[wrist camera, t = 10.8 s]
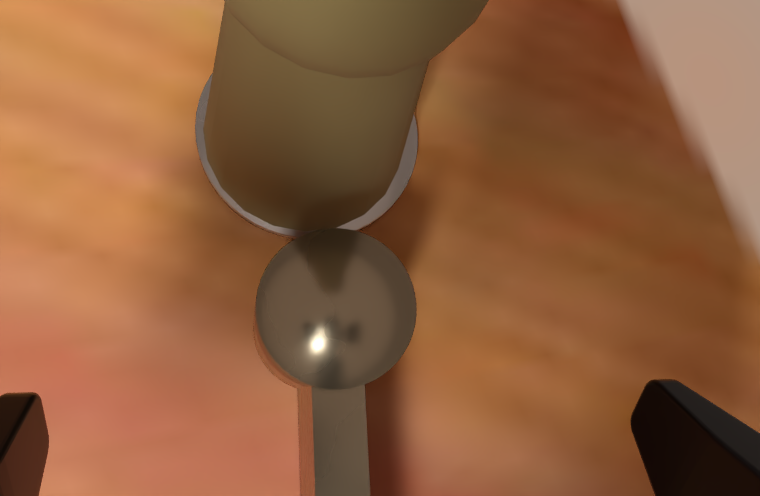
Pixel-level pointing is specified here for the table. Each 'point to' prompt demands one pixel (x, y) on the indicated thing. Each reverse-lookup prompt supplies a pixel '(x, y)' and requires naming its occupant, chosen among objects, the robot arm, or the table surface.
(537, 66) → the table surface
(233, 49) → the olive rounded piece
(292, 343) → the hinge frame
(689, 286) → the table surface
